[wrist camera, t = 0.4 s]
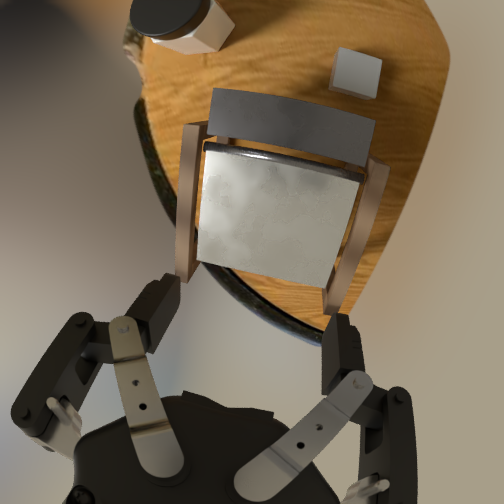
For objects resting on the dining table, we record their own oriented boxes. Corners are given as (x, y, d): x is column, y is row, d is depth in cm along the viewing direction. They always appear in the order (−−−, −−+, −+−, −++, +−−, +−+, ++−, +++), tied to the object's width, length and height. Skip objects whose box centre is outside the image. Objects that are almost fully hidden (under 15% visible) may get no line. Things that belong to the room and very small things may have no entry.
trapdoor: (220, 90, 24) (203, 87, 19) (370, 121, 23) (385, 123, 18) (202, 246, 32) (187, 269, 28) (326, 274, 31) (328, 301, 27)
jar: (236, 1, 25) (209, -36, 15) (234, 51, 29) (205, 28, 19) (173, 10, 26) (129, -16, 16) (171, 58, 30) (122, 44, 20)
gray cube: (334, 55, 27) (339, 46, 23) (371, 66, 27) (382, 60, 23) (328, 89, 30) (332, 85, 25) (365, 100, 29) (375, 98, 25)
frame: (222, 118, 34) (183, 124, 22) (360, 147, 32) (390, 167, 21) (208, 232, 42) (175, 280, 31) (328, 258, 41) (336, 316, 30)
